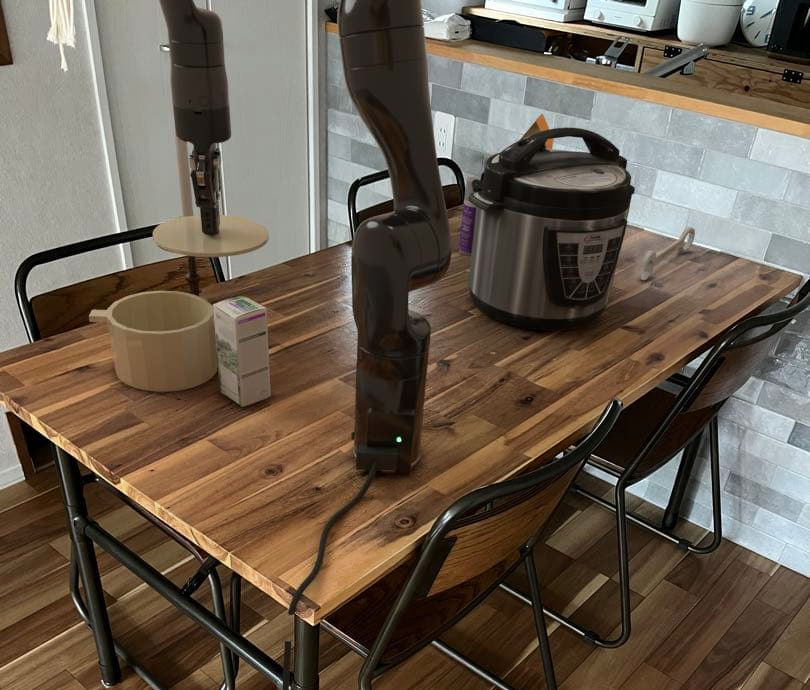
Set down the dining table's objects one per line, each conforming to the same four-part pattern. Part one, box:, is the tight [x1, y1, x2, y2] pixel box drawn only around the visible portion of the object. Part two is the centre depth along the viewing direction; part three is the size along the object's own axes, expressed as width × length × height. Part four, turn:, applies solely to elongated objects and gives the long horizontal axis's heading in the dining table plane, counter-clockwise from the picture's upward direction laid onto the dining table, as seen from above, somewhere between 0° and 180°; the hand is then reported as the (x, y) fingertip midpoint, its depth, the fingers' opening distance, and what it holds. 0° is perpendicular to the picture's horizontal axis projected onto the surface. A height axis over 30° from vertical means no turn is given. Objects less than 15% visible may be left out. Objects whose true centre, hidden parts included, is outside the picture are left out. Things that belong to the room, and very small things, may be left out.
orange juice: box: [519, 113, 555, 149], centre depth 209 cm, size 8×9×20 cm
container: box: [458, 176, 481, 256], centre depth 179 cm, size 5×5×15 cm
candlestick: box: [157, 101, 213, 306], centre depth 138 cm, size 11×11×35 cm
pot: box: [88, 290, 218, 393], centre depth 131 cm, size 16×21×10 cm
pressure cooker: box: [467, 127, 636, 331], centre depth 153 cm, size 30×28×32 cm
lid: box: [152, 196, 270, 258], centre depth 124 cm, size 17×17×6 cm
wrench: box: [640, 226, 696, 281], centre depth 183 cm, size 28×2×6 cm, turn 145°
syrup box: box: [212, 295, 272, 408], centre depth 124 cm, size 6×6×14 cm
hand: (211, 229), depth 124 cm, fingers closed on lid, 2 cm apart
